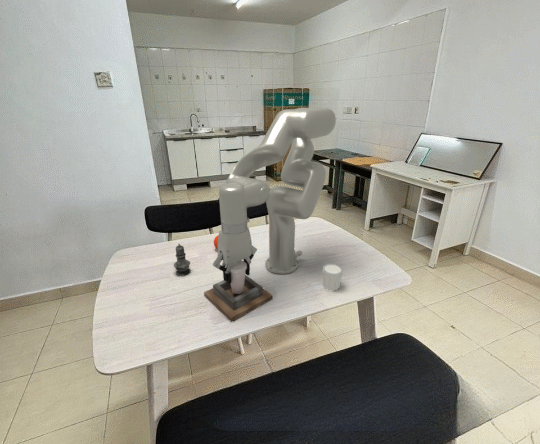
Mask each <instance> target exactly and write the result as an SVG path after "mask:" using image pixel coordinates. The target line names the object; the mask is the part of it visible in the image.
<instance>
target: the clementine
mask: <svg viewBox="0 0 540 444" xmlns="http://www.w3.org/2000/svg"><path fill="white" fill-rule="evenodd" d="M213 244H214V245H213V246H214V248H216V249H217V250H218V235H216V236H215V238H214V239H213Z"/></svg>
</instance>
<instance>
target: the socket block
mask: <svg viewBox="0 0 540 444" xmlns="http://www.w3.org/2000/svg"><path fill="white" fill-rule="evenodd" d="M203 296H204V297H205V298H206V299H207V300H208V301H209V302H210V303H211V304H212V305H213V306H214V307H215V308H217V310H218V311H219V312H220V313H222V314H223V315H224V317H225V318H227V320H229V321H230V322H231V323H232V321H233V322H234V321H236V320H238V319H240V318H241V317H243V316H245V315H247V314H249V313H251V312H252V311H254V310H256V309H258V308H260V307H261V306H263V305H265V304H267V303H269V302H270V301H272V300H273V298H274V297H273V296H274V295H273V294H272V293H270V292H269V291H267V289H265V288H264V287H263V286H262V285H261V284H259V283H257V282H256V281H255V280H253V279H252V278H251V277H249V275H246V274H245V281H244V291H243V292H242V293H240V294H234V293H233V292H232V288H231V284H229V283H227V282H226V281H224V279H223V280H221V281H219V282H216V283H214V284H212V288H210V289H208V290H206V291H204V292H203Z"/></svg>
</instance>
